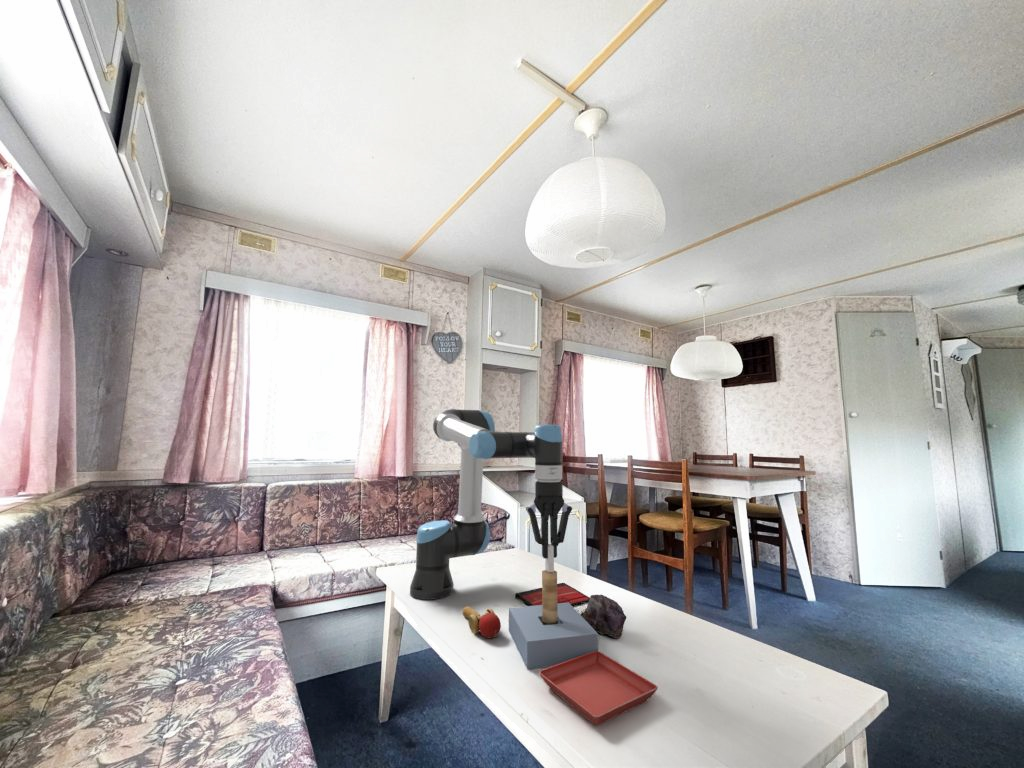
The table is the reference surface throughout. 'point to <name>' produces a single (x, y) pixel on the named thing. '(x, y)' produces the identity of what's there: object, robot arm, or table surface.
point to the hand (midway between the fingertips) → (549, 570)
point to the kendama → (483, 622)
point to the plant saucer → (598, 686)
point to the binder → (563, 596)
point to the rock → (604, 615)
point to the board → (550, 635)
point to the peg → (549, 598)
